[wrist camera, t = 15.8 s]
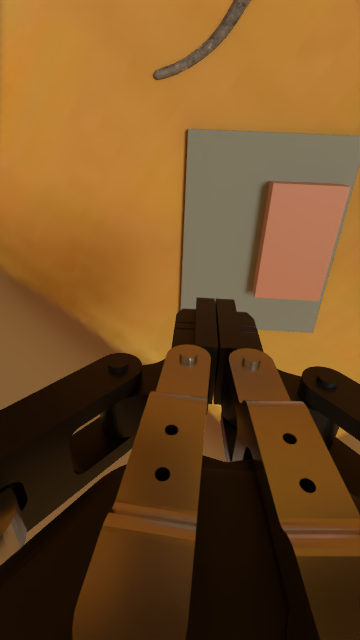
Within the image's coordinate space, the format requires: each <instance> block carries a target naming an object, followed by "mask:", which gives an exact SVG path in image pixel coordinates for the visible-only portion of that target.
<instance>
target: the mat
mask: <svg viewBox="0 0 360 640" xmlns="http://www.w3.org/2000/svg"><path fill="white" fill-rule="evenodd" d="M359 164H360V136H348V135H324V134H300V133H276V132H252V131H228V130H204V129H188V145H187V168H186V192H185V215H184V239H183V262H182V286H181V309H180V311H181V310H182V309H183V308H184V309H196V298H197V297H200V298H215V300H216V298H218V299H234V300H235V305H236V311H237V312H247V313H248V314H249V315H250V316H251V317H252V318H254V321H255V324H256V328H257V329H259V330H275V331H291V332H307V333H313V330H314V326H315V323H316V319H317V315H318V312H319V308H320V305H321V301H322V297H323V294H324V290H325V287H326V283H327V279H328V276H329V272H330V269H331V265H332V261H333V258H334V254H335V251H336V247H337V243H338V240H339V236H340V233H341V229H342V226H343V222H344V218H345V215H346V211H347V208H348V204H349V200H350V197H351V193H352V190H353V186H354V182H355V179H356V175H357V172H358V168H359ZM269 181H290V182H311V183H332V184H344V185H347V186H350V191H349V194H348V198H347V202H346V205H345V209H344V213H343V216H342V220H341V223H340V227H339V231H338V234H337V238H336V242H335V245H334V249H333V253H332V256H331V260H330V264H329V267H328V271H327V274H326V278H325V282H324V285H323V289H322V293H321V296H320V300H319V301H306V300H289V299H273V298H256V297H254V294H253V291H252V288H253V281H254V275H255V269H256V262H257V256H258V250H259V244H260V237H261V231H262V225H263V219H264V212H265V206H266V200H267V193H268V187H269Z"/></svg>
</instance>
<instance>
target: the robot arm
mask: <svg viewBox="0 0 360 640" xmlns="http://www.w3.org/2000/svg"><path fill="white" fill-rule="evenodd" d="M213 396H214V404H219V405H221V407H222V412H221V420H220V426H221V432H222V438H223V444H224V451H225V457H226V462H223V461H219V460H216V459H213V458H210V457H206V456H203V444H204V433H205V432H204V431H205V422H206V415H207V411H208V404H212V399H213ZM99 414H100V416H101V417H99V418H98V419H96V420H95V421H93V422H91V423H90V424H89V425H87V426H85V427H84V428H82V429H81V430H79V431H78V432H76V433H75V434H73V433H74V432H75V431H76V430H77V429H78V428H79V427H80V426H82V425H84V424H85V423H87V422H88V421H90V420H91V419H93V418H94V417H96V416H98V415H99ZM339 427H341V428H342V429H344V430H345V431H346V432H348V433H349V434H351V435H352V436H353V437H355V438H356V439H358V440H359V441H360V384H358V383H357V382H355V381H353V380H352V379H350V378H348V377H347V376H345V375H343V374H341V373H340V372H338V371H335V370H333V369H330V368H326V367H317V366H316V367H309V368H307V369H305V370H304V371H303V373H302V376H301V377H300V376H297V375H293V374H289V373H286V372H283V371H281V370H278V369H277V368H276V366H275V364H274V361H273V360H272V358H271V357H270V356H269V355H267V354H266V353H264V352H263V349H262V345H261V342H260V338H259V335H258V331H257V328H256V324H255V321H254V318H252V317H251V316H250V315H249V314H248V313H247V312H237V311H236V305H235V300H234V299H218V298H216V300H215V298H200V297H197V298H196V309H184V308H183V309H182V310H181V311H179V312H178V313H177V315H176V321H175V329H174V335H173V342H172V348H171V349H170V350H169V351H168V353H167V355H166V358H165V359H164V360H162V361H160V362H157V363H154V364H148V365H142V363H141V361H140V360H139V359H138V358H137V357H136V356H134V355H131V354H127V353H115V354H110V355H108V356H105V357H103V358H101V359H99V360H97V361H95V362H93V363H91V364H89V365H87V366H85V367H84V368H82V369H80V370H78V371H76V372H74V373H72V374H70V375H68V376H66V377H64V378H62V379H60V380H58V381H56V382H54V383H52V384H50V385H49V386H47V387H45V388H43V389H41V390H39V391H37V392H35V393H33V394H31V395H29V396H27V397H25V398H23V399H21V400H20V401H17V402H16V403H14V404H12V405H10V406H8V407H6V408H4V409H2V410H0V640H360V455H359V454H358V453H356V452H355V451H354V450H352V449H351V448H350V447H348V446H347V445H346V444H344V443H343V442H342V441H340V440H339V439H338V438H336V434H337V431H338V429H339ZM72 434H73V435H72ZM130 449H132V450H131V454H130V457H129V459H128V463H127V464H126V465H124V466H121V467H119V468H117V469H115V470H113V471H111V472H110V473H108V474H107V475H105V476H104V477H102V478H101V479H100V480H99V481H97V482H96V483H95V484H94V485H93V486H92V487H91V488H89V489H88V490H87V491H86V492H85V493H84V494H83V495H81V496H80V497H79V498H78V499H77V500H75V501H74V502H73V503H72V504H71V505H70V506H69V507H67V508H66V509H65V510H64V511H63V512H62V513H61V514H59V515H58V516H57V517H56V518H55V519H54V520H52V521H51V522H50V523H49V524H48V525H47V526H45V527H44V528H43V529H42V530H41V531H40V532H38V533H37V534H36V535H35V536H34V537H33V538H32V539H30V540H29V541H28V542H27V543H26V544H25V545H24V543H25V540H26V534H27V532H28V531H29V530H30V529H32V528H33V527H34V526H35V525H37V524H38V523H39V522H40V521H42V520H43V519H44V518H45V517H47V516H48V515H49V514H50V513H52V512H53V511H54V510H55V509H57V508H58V507H59V506H60V505H62V504H63V503H64V502H65V501H67V500H68V499H69V498H70V497H72V496H73V495H74V494H75V493H76V492H78V491H79V490H80V489H82V488H83V487H84V486H85V485H87V484H88V483H89V482H90V481H92V480H93V479H94V478H95V477H97V476H98V475H99V474H100V473H102V472H103V471H104V470H105V469H107V468H108V467H109V466H110V465H112V464H113V463H114V462H115V461H117V460H118V459H119V458H120V457H122V456H123V455H124V454H125V453H127V452H128V451H129V450H130Z"/></svg>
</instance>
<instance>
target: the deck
mask: <svg viewBox="0 0 360 640" xmlns="http://www.w3.org/2000/svg"><path fill="white" fill-rule="evenodd" d="M349 191H350V186H347V185H344V184H332V183H311V182H290V181H269V187H268V193H267V200H266V206H265V212H264V219H263V225H262V231H261V237H260V244H259V250H258V256H257V262H256V269H255V275H254V281H253V288H252V291H253V294H254V297H256V298H273V299H289V300H306V301H319V300H320V296H321V293H322V289H323V285H324V282H325V278H326V274H327V271H328V267H329V264H330V260H331V256H332V253H333V249H334V245H335V242H336V238H337V234H338V231H339V227H340V223H341V220H342V216H343V213H344V209H345V205H346V202H347V198H348V194H349Z"/></svg>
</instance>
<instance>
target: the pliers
mask: <svg viewBox="0 0 360 640" xmlns="http://www.w3.org/2000/svg"><path fill="white" fill-rule="evenodd" d="M250 1H251V0H234V2H233V4H232V6H231V7H230V9H229V11H228V13H227V14H226V16H225V18H224V19H223V21H222V22H221V24H220V26H219V27H218V28H217V29H216V31H215V32H214V33H213V34H212V35H211V37H210V38H209V39H208V40H207V41H206V42H205V43H204V44H202V45H201V46H200V47H199V48H198V49H197V50H195V51H194V52H193V53H191V54H190V55H189V56H187V57H186V58H184V59H182V60H180V61H178V62H176V63H174V64H172V65H169V66H166V67H164V68H161V69H159V70H156V71H155V73H154V78H156V79H157V80H158V79H163V78H167V77H170V76H173V75H176V74H178V73H180V72H182V71H184V70H186V69H188V68H190V67H191V66H193V65H194V64H196V63H198V62H199V61H201V60H202V59H203V58H205V57H206V56H207V55H208V54H209V53H211V52H212V51H213V50H214V49H215V48H216V47H217V46H218V45H219V44H220V43H221V42H222V41H223V40H224V39H225V38H226V36H227V35H228V34H229V32H230V31H231V30H232V28H233V27H234V26H235V24H236V23H237V21H238V20H239V18H240V16H241V15H242V13H243V12H244V10H245V8H246V7H247V5H248V4H249V2H250Z"/></svg>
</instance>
